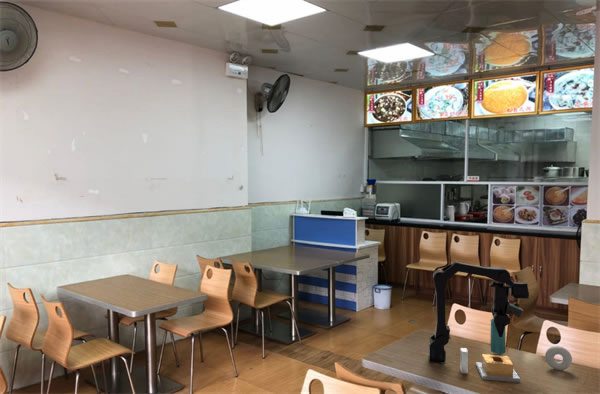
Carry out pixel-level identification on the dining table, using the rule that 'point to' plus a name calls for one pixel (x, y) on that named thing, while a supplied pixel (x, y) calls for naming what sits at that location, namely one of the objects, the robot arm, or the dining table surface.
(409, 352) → the dining table surface
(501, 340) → the beverage bottle
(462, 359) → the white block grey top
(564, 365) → the donut
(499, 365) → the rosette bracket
